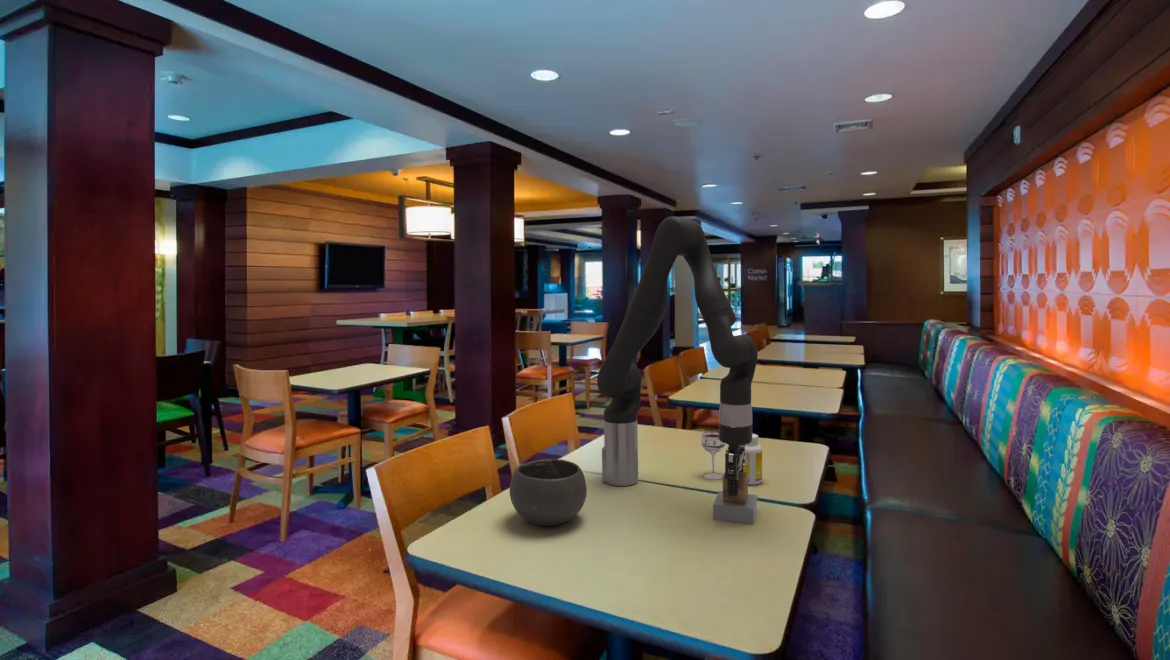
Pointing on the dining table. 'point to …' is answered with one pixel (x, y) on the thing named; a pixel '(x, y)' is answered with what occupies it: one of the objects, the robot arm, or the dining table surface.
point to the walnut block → (742, 489)
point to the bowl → (548, 491)
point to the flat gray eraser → (735, 510)
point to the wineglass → (712, 449)
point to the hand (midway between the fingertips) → (735, 489)
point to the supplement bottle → (753, 461)
